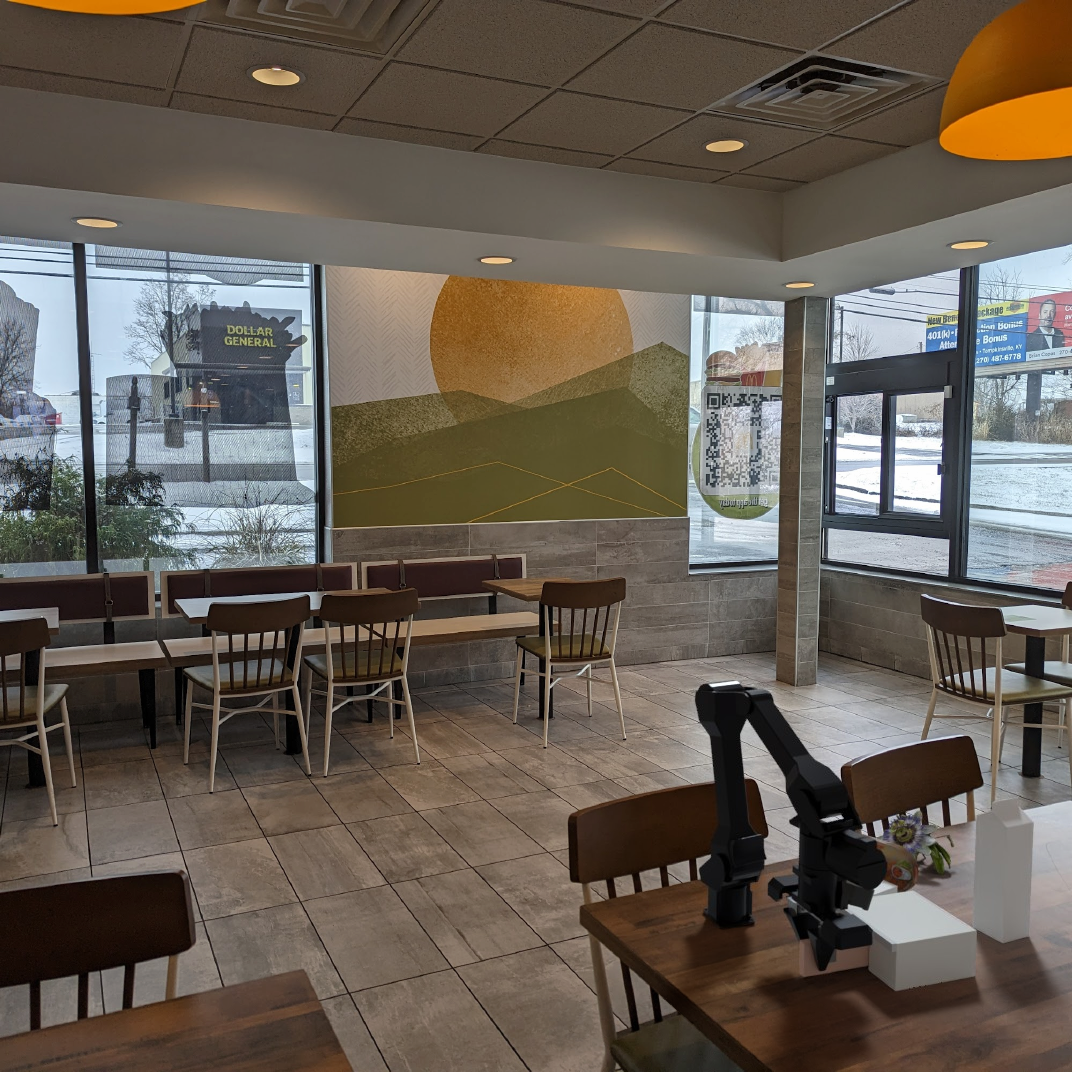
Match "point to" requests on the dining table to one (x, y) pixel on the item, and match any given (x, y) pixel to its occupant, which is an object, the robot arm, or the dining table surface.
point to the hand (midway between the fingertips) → (816, 965)
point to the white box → (916, 941)
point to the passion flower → (917, 839)
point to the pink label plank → (837, 961)
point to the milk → (1003, 871)
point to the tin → (898, 865)
